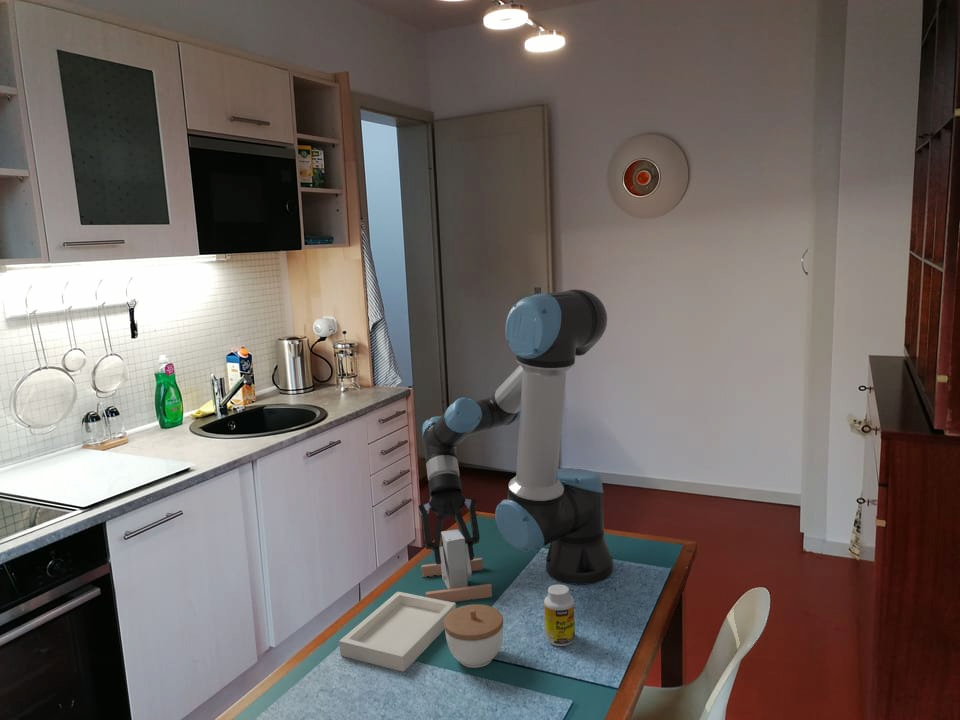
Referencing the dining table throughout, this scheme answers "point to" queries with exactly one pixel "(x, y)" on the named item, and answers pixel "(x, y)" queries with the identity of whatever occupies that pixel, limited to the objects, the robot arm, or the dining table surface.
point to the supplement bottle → (559, 616)
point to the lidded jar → (474, 634)
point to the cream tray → (397, 631)
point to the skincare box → (454, 559)
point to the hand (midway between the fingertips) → (457, 576)
